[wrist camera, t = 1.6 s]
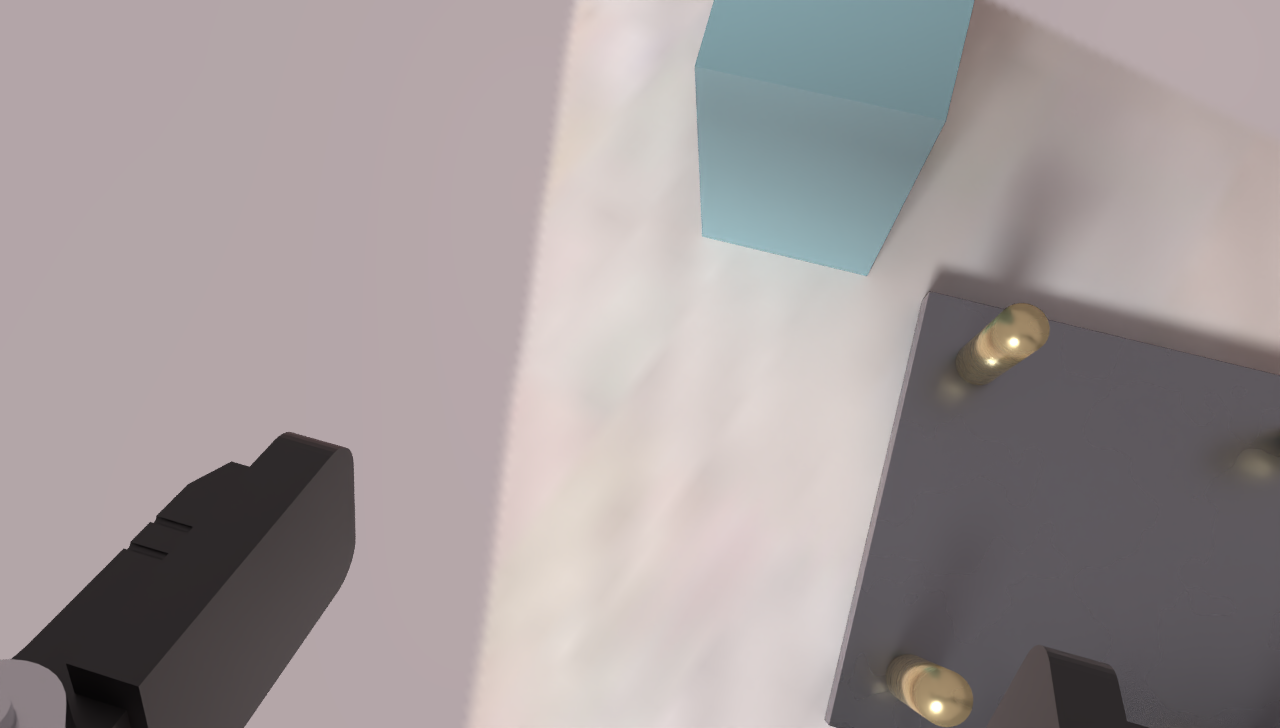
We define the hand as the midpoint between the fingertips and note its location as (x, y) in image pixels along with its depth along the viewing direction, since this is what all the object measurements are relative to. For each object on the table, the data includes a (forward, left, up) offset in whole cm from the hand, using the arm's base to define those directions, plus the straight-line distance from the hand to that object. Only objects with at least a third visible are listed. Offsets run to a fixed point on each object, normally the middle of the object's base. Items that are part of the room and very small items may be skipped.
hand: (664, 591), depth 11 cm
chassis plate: (-11, -2, -16) cm, 19 cm away
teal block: (-2, -12, -16) cm, 20 cm away
